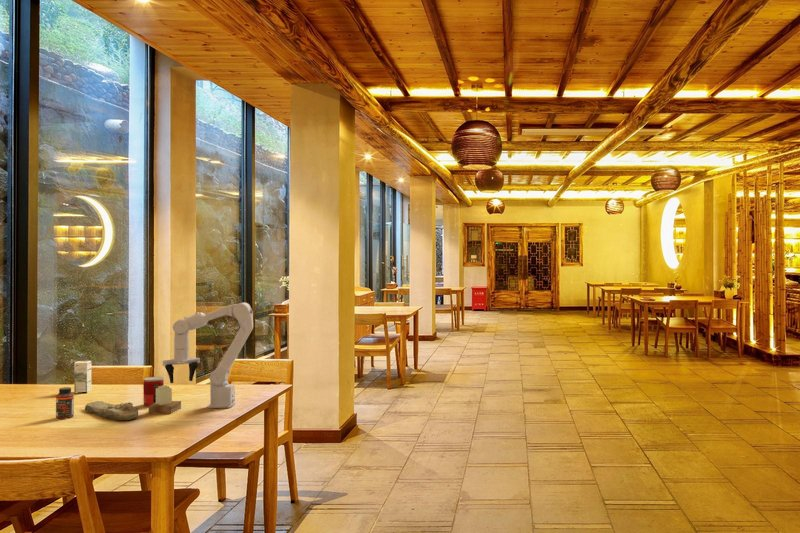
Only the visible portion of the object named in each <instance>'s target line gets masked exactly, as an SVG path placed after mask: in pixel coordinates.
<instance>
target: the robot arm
mask: <svg viewBox="0 0 800 533" xmlns="http://www.w3.org/2000/svg"><path fill="white" fill-rule="evenodd" d="M224 316H229V317H233V316H234V318H235V319H236V320H237V321H238V324H239V329H238V331H237V333H236V335H235V337H234V338H233V340H232V341H231V343H230V345H229V347H228V348H227V350H226V352H225V354H224V356H223V357H222V359H221V361H220V362H219V364H218V365H217V367H216V368H215V370H212V371H211V373H210V374H209V382H210V395H209V396H210V401H209V402H210V403H209V404H208V405H207V406H206V408H207V409H208V408H209V409H211V408H212V409H217V408H218V409H219V408H220V409H224V408H225V409H226V408H227V409H229V408H232V407H233V406H234V405H236V394H235V393H236V389H235V387H236V386H235V384H230V383H229V381H228V378H229V376H230V371H231V369H232V368H233V367H232V366H233V364H234V362H235V361H236V358H237V357H238V355H239V354H240V352H241V350H242V349H243V347H244V345H245V343H246V342H247V340H248V338H249V336H250V334H252V331H253V329H254V317H253V316H254V311H253V309H252V307H251V305H250V304H249V303H248V302H246V301H245V302H244V301H243V302H240V303H236V304H228V305H226V306H223V307H219V308H217V309H215V310H213V311H210V312H207V313H204V312H199V311H197V312H195V313H194V314H193V315H190V316H183V319H178V320H176V321H175V322H174V323H173V325H172V330H173V332H174V338H173V342H174V343H173V346H174V347H173V358H174V359H173V358H172V359H167V360H166V359H165V360H162V366H164V368H165V370H166V371H167V372H166V373H167V375H168V378H169V383H170V384H174V373H175V372H174V370H175V366H176V365H187V364H188V371H189V374H188V380H189V382H193V378H194V376H195V372H196V371H197V369H198V366H199V364H201V358H200V357H190V336H189V333H190V331H194V330H196V329H199V328H202V327H204V326H207V325H208V322H210V321H212V320H215V319H218V318H220V317H224ZM174 365H175V366H174Z"/></svg>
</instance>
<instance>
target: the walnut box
mask: <svg viewBox="0 0 800 533" xmlns="http://www.w3.org/2000/svg"><path fill="white" fill-rule="evenodd" d="M179 409H180V410H181V409H182V401H181V400H172V403H171V404H165V405H158V404H156V403H154V404H152V405H150V406H148V414H149V415H151V414H153V415H154V414H155V415H159V414H160V415H162V414H163V415H172V414H174V413H176V412H178V411H180V410H179ZM177 410H178V411H177ZM175 411H176V412H175ZM173 412H174V413H173ZM171 413H172V414H171Z"/></svg>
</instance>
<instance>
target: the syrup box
mask: <svg viewBox="0 0 800 533" xmlns="http://www.w3.org/2000/svg"><path fill="white" fill-rule="evenodd" d="M73 364H74V367H73V368H74V371H73V373H74V379H73V380H74V387H73V388H74V389H73V390H74V391H73V392H88V391H90V390H91V391H92V360H77V361H75V362H73ZM91 391H90V392H91ZM88 393H89V392H88Z"/></svg>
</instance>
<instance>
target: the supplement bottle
mask: <svg viewBox="0 0 800 533" xmlns="http://www.w3.org/2000/svg"><path fill="white" fill-rule="evenodd" d="M74 395H75V393H73V392H72V388H71V387H68V386H67V387H60V388H59V389H58V393H57V394H56V396H55V418H56V419H58V420H66V419H65V418H68V419H71V418H73V417H74V413H75V412H74V409H75V408H74V405H75V404H74V402H75V400H74V399H75V398H74V397H75V396H74Z"/></svg>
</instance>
